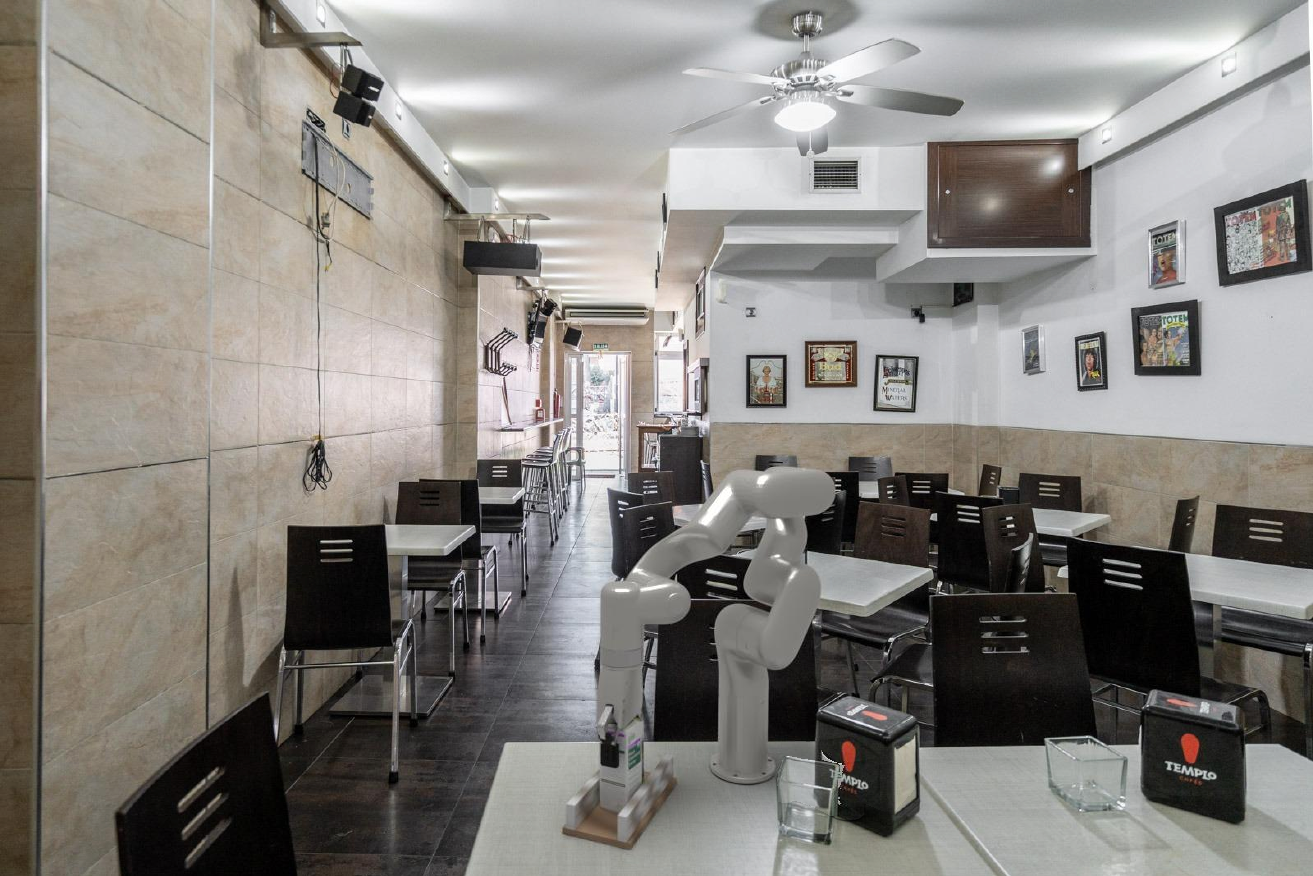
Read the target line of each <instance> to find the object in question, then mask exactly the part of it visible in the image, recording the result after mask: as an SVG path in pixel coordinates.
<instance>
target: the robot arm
mask: <svg viewBox="0 0 1313 876" xmlns="http://www.w3.org/2000/svg"><path fill="white" fill-rule="evenodd" d="M835 498H836V485H835V482H834V480H833V478H832V477H831V476H830V474H828V473H826V472H825V471H823V470H821V469H815V468H804V467H797V466H785V465H784V466H783V465H781V466H779V465H778V466H772V467H769V468H766V469H765V470H764V471H761V470H753V469H736V470H733V471H730V473H728V474H727V475H726V476H725V477H724V478H723V480H721V482H720V483H719V485H718V486H717V487H716V488H715V490H713V491H712V493H711V494H710V495H709V496H708V498H707V499H706V501H705V502H704V503H703V504H702V506H701V507H700V508H699V510H698V511H697V512H696V513H695V515H694V516H693V517H692V518H691V519H690V520H689V522H688V523H686V524H685V525H683V526H682V527H680V528H678V529H676V530H675V531H673V532H672V533H670V534H669V535H667V536H666V537H664V538H662V539H660V541H657V542H656V543H655V544H654V545H652V547H650V548H649V549H648V550H647V551H646V552H645V553H644V554H643V555H642V557H641V558H640V559H639V560H638V562H637V563H636V564H635V566H633V568H632V569H631V571H630V572H629V574H628V575H627V576H626V578H625V580H618V581H611V582H608V583H605V585H603V586H602V588H601V590H600V599H599V600H600V603H599V604H600V605H599V606H600V607H599V608H600V609H599V610H600V613H599V614H600V617H599V618H600V619H599V620H600V621H599V622H600V623H599V629H600V630H599V631H600V632H599V636H600V637H599V644H600V645H599V647H600V648H599V665H600V666H601V668H600V671H599V677H598V684H597V685H598V687H597V694H596V695H597V697H596V698H597V699H596V712H595V713H596V715H595V716H596V718H595V721H596V730H597V733H598V734H597V737H598V740H599V741H598V744H599V743H600V764H601V765H602V766H606V767H611V768H618V767H619V743H617V740H618V737H619V733H620V730H621V729H623V728H624V727H625V726H627V725H628V724H629V723H630V722H631V721H632V720H633V719H634V718H635V717H636V718H639V719H643V712H642V707H643V706H644V705H643V704H644V700H643V699H644V698H643V697H644V692H645V691H644V688H643V686H644V683H643V682H644V681H643V670H642V669H643V668H642V667H643V666H644V665H645V625H669V624H670V625H671V624H674V623H678V622H679V621H681V620H683V619H684V617H686V615H687V614H688V613H689V611H690V609H691V603H692V600H691V595H690V592H689V591H688V589H687V588H686V587H685V585H682V584H681V583H680V582H679V581H676V580H673V579H671V577H672V576H673V575H675V573H676V572H678V571H679V570H681V569H682V568H684V567H686V566H688V565H690V564H692V563H695V562H696V563H697V562H700V561H704V560H709V559H711V558H714V557H717V556H721V555H722V554H724V553H725V552H726V551H727V550H728V548H730V546H731V545H732V543H733V542H734V541H735V539H736V537H737V536H738V535H739V534H740V532H741V531H742V530H743V529H744V527H745V526H746V524H747V523H748V522H749V521H750V520H751V518H753V517H758V518H763V519H766V523H765V529H764V532H763V535H762V537H761V539H760V542H759V543H758V546H757V548H756V550H755V552H754V555H753V556H752V559H751V562H750V564H749V566H748V568H747V570H746V572H745V575H744V578H743V589H744V592H745V593H746V594H747V596H748V597H749V598H750V599H752V600H754V601H756V602H759V603H761V604H764V605H766V606H769V607H771V609H770V612H769V611H766V610H763V609H761V608H758V607H755V606H751V605H748V604H744V603H733V604H729V605H727V606H725V607H723V609H721V611H720V612H719V613H718V615H717V617H716V619H715V622H714V629H713V630H714V643H715V647H716V653H717V661H718V662H717V663H718V716H717V717H718V720H717V721H718V723H717V724H718V728H717V730H718V731H717V735H718V737H717V743H718V744H717V752H715V753H714V754H713V755H712V756H711V757H710V759H709V767H710V770H711V772H712V773H713V774H714V775H716V776H717V777H719V778H720V779H722V780H725V781H727V782H731V783H734V784H742V785H745V784H747V785H751V784H758V783H763V782H765V781H767V780H769V779H771V778H772V777H773V776H774V775H775V773H776V768H777V767H776V762H775V760H774V759H773V758H772V757H771V756H770V755H769V754H768V753H769V751H768V749H769V747H768V746H769V744H768V743H769V689H770V687H769V686H770V685H769V682H770V681H769V672H768V670H772V671H777V670H779V671H780V670H783V669H785V668H786V667H789V665H790V664H791V663H792V662H793V660H794V659H795V658H796V656H797V654H798V652H799V651H800V648H801V646H802V644H803V642H804V640H805V637H806V636H807V635H806V634H807V633H808V630H809V628H810V625H811V623H812V620H813V618H814V617H815V614H816V612H817V608H818V607H819V605H820V601H821V596H822V595H821V594H822V583H821V578H820V577H819V575H818V572H817V571H816V570H815V569H814V568H813V567H811V566H810V565H809V564H806V563H804V562H801V559H802V556H803V553H804V551H805V549H806V545H807V541H808V540H807V539H808V529H807V525H806V521H805V518H804V517H808V516H814V515H815V516H816V515H820V514H821V513H823V512H825V511H826V510H828V509H829V508H830V507H831V506H832V505H833V502H834V501H835ZM610 721H612V722H616V723H617V725H616V724H610V723H609V722H610ZM608 729H613V730H614V734H613V736H612V735H611V733H610V732H608Z"/></svg>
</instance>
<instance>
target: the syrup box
mask: <svg viewBox="0 0 1313 876" xmlns="http://www.w3.org/2000/svg"><path fill="white" fill-rule="evenodd" d="M609 723H610V724H616V725H617V723H616V722H612V721H610V722H609ZM644 727H645V725H644V720H643V718H641V719H639V718H636V717H635V718H634V719H633V720H632V721H631V722H630V723H629V724H628V725H627V726H625V727H624V728H623V729H621V730H620V733H619V737H618V740H617V743H619V767H618V768H611V767H606V766H602V765H601V764H600V743H599V742H598V747H599V749H598V751H599V752H598V753H599V754H598V755H599V757H598V758H599V761H598V762H599V769H598V770H599V771H600V807H601V808H604V809H606V810H609V811H612V812H615V813H620V812H621V811H622V809H623V808H624V807H625V806H626V804H627V803H628V802H629V801H630V799H631V798H632V797H633V796H634V794H635V793H636V792H637V790H638V789H639V788H640V787H641V785H642V784H643V783H644V771H645V748H644V747H645V746H644V743H645V741H644V739H645V737H644V736H645V735H644V733H645V730H644V729H645V728H644ZM608 732H610V733H611V735H612V736H613V734H614V730H613V729H608Z"/></svg>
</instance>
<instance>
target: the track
mask: <svg viewBox="0 0 1313 876" xmlns="http://www.w3.org/2000/svg"><path fill="white" fill-rule="evenodd" d="M677 783H678V780H677V777H675V776H674V755H671V754H665V755H664V756H663V757H662V759H661V760H660V761H659V763H657V765H656V766H655V767H654V769H653V770H652V771H651V772H649V771H645V770H644V783H643V784H642V785H641V787H640V788H639V789H638V790H637V792H636V793H635V794H634V796H633V797H632V798H631V799H630V801H629V802H628V803H627V804H626V806H625V807H624V808H623V809H622V811H621V812H620V813H615V812H612V811H609V810H606V809H604V808H601V807H600V771H599V769H597V771H596V772H595V773H594V774H593V775H592V776H591V777H590V778H589V779H588V781H587V782H586V783H584V785H583V786H582V787H581V788H580V789H579V790H578V791H577V792H576V793H575V794H574V795H573V796H572V798H570V800H568V802H566V806H565V807H566V808H565V809H566V813H565V816H566V817H565V818H566V819H565V824H564V825H563V826H562V834H563V835H567V836H571V837H576V838H581V839H584V840H589V841H593V842H596V843H600V844H601V843H602V844H604V845H609V846H612V847H616V848H621V849H625V850H632V848H633V847H634V845H635V844H636V842H637V841H638V839H639V838H640V837H641V835H642V834H643V832H645V829H646V828H647V826H649V823H650V822H651V821H652V819H653V818H654V816H655V815H656V814H657V812H659V809H660V808H661V807H662V805H663V804H664V802H665V801H666V799H667V798H668V796H669V795H670V793H671V792H672V790H673V789H674V788H675V786H676V785H677Z"/></svg>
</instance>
